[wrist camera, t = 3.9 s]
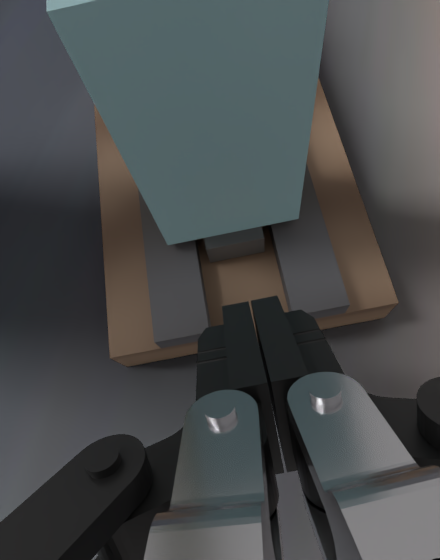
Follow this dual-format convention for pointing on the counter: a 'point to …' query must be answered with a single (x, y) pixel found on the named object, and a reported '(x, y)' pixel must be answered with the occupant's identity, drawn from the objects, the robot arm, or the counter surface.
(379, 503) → the robot arm
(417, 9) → the counter surface
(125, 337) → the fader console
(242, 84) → the fader tab
